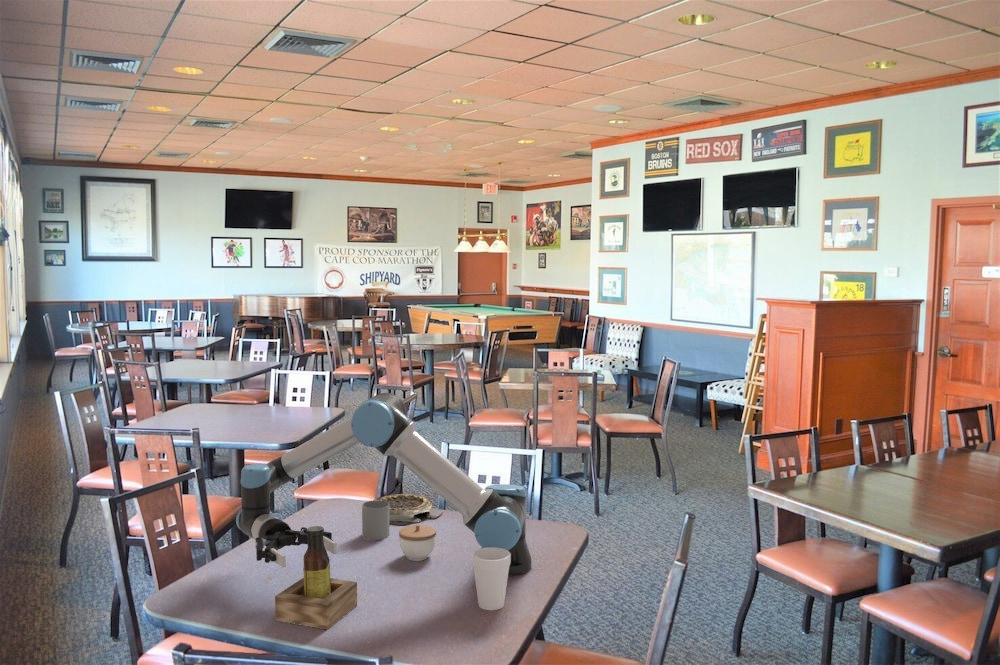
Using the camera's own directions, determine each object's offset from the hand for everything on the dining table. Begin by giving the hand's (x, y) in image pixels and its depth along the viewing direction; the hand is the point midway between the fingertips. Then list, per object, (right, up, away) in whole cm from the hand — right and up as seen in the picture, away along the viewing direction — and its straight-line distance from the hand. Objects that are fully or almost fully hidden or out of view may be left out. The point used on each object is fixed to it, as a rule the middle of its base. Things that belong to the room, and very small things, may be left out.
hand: (310, 554), depth 189 cm
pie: (+13, -8, +78) cm, 80 cm away
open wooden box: (+2, -14, 0) cm, 14 cm away
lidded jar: (+22, -11, +37) cm, 44 cm away
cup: (+7, -10, +55) cm, 56 cm away
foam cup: (+44, -14, +5) cm, 46 cm away
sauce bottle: (+2, -13, 0) cm, 13 cm away
